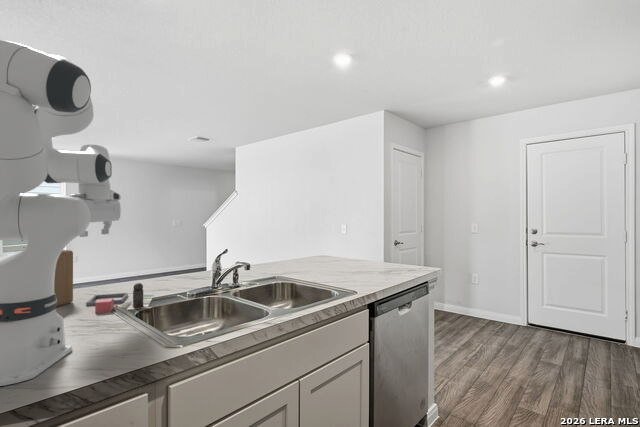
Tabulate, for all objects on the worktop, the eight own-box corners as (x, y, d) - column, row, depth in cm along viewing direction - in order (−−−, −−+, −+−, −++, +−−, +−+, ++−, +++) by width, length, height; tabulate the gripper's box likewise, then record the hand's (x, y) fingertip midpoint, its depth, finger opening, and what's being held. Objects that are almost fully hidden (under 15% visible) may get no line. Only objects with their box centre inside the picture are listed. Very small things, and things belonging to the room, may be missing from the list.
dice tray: (121, 305, 122) (122, 299, 122) (86, 308, 118) (86, 302, 118) (127, 297, 132) (127, 292, 132) (95, 300, 128) (95, 295, 128)
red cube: (110, 314, 111) (110, 301, 111) (95, 315, 110) (95, 302, 110) (113, 310, 116) (113, 298, 116) (98, 312, 114) (98, 299, 114)
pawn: (142, 307, 116) (142, 283, 116) (132, 308, 115) (132, 284, 115) (143, 305, 119) (143, 281, 119) (133, 306, 118) (133, 282, 118)
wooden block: (47, 310, 115) (47, 253, 115) (24, 308, 117) (24, 252, 117) (74, 302, 125) (74, 250, 125) (52, 300, 127) (52, 249, 127)
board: (148, 309, 116) (148, 307, 116) (125, 311, 114) (125, 309, 114) (155, 296, 135) (155, 294, 135) (135, 297, 133) (135, 295, 133)
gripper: (78, 193, 100) (78, 238, 100) (124, 195, 120) (124, 233, 121) (58, 193, 101) (59, 238, 101) (107, 195, 121) (107, 232, 121)
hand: (94, 235), depth 111 cm, fingers open, 8 cm apart
